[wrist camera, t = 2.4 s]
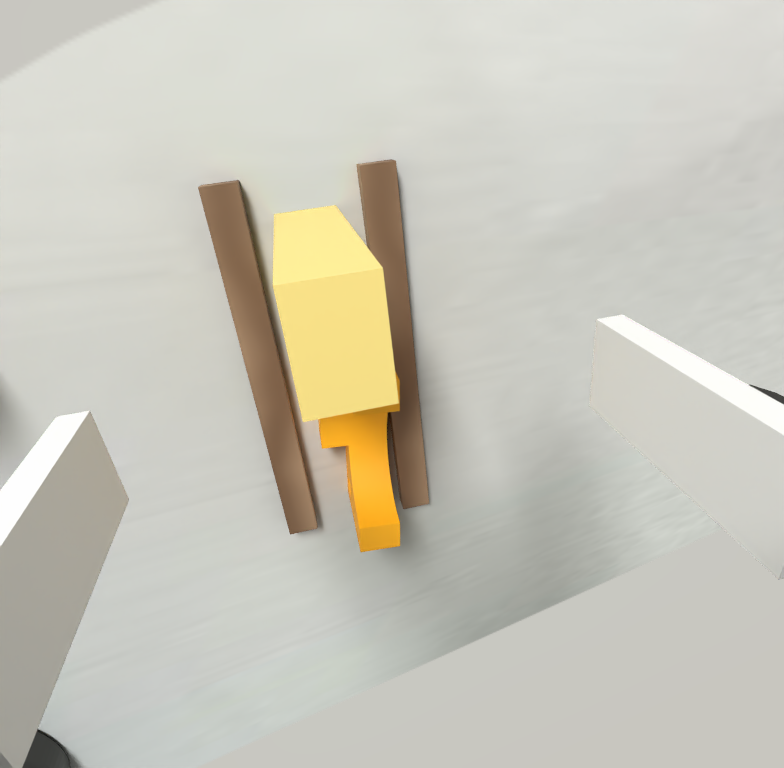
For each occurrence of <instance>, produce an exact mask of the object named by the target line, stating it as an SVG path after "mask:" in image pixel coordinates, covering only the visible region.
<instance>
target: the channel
mask: <svg viewBox="0 0 784 768" xmlns="http://www.w3.org/2000/svg"><path fill="white" fill-rule="evenodd" d="M357 172H358V179H359V187H360V195H361V202H362V210H363V218H364V226H365V233H366V241H367V248H368V249H369V250H370V252H371V253H372V254H373V256H374V257H375V258H376V259H377V261H378V262H379V263H380V265H381V266H382V267H383V273H384V282H385V290H386V298H387V307H388V315H389V324H390V332H391V341H392V349H393V358H394V366H395V372H396V374H397V376H398V378H399V380H400V411H396V412H389V418H390V426H391V433H392V441H393V449H394V457H395V464H396V472H397V480H398V487H399V495H400V501H401V504H402V507H403V509H407V508H411V507H416V506H420V505H425V504H429V497H428V487H427V477H426V466H425V456H424V446H423V435H422V425H421V415H420V405H419V394H418V384H417V374H416V363H415V353H414V343H413V333H412V322H411V312H410V302H409V291H408V281H407V271H406V261H405V250H404V240H403V230H402V220H401V209H400V199H399V189H398V178H397V168H396V161H395V160H385V161H377V162H370V163H362V164H357ZM198 189H199V193H200V196H201V200H202V204H203V208H204V212H205V215H206V219H207V223H208V227H209V230H210V234H211V238H212V242H213V245H214V249H215V253H216V257H217V260H218V264H219V268H220V272H221V276H222V279H223V283H224V287H225V291H226V294H227V298H228V302H229V306H230V309H231V313H232V317H233V321H234V324H235V328H236V332H237V336H238V340H239V343H240V347H241V351H242V355H243V358H244V362H245V366H246V370H247V373H248V377H249V381H250V385H251V389H252V392H253V396H254V400H255V404H256V407H257V411H258V415H259V419H260V422H261V426H262V430H263V434H264V437H265V441H266V445H267V449H268V453H269V456H270V460H271V464H272V468H273V471H274V475H275V479H276V483H277V486H278V490H279V494H280V498H281V501H282V505H283V509H284V513H285V517H286V520H287V524H288V528H289V532H290V534H294V533H299V532H303V531H308V530H312V529H317V519H316V514H315V510H314V505H313V501H312V497H311V492H310V488H309V484H308V479H307V475H306V471H305V466H304V462H303V457H302V453H301V449H300V444H299V440H298V436H297V431H296V427H295V423H294V418H293V414H292V410H291V405H290V401H289V397H288V392H287V388H286V384H285V379H284V375H283V371H282V366H281V362H280V358H279V353H278V349H277V344H276V340H275V336H274V331H273V327H272V323H271V318H270V314H269V310H268V305H267V301H266V297H265V292H264V288H263V284H262V279H261V275H260V271H259V266H258V262H257V258H256V253H255V249H254V244H253V240H252V236H251V231H250V227H249V223H248V218H247V214H246V210H245V205H244V201H243V197H242V192H241V188H240V184H239V180H236V181H229V182H221V183H214V184H206V185H201V186H199V187H198Z"/></svg>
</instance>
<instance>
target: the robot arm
mask: <svg viewBox="0 0 784 768" xmlns="http://www.w3.org/2000/svg"><path fill="white" fill-rule="evenodd" d="M589 407H590V408H591V409H592V410H593V411H595V412H596V413H597V414H598V415H599V416H600V417H601V418H602V419H603V420H604V421H606V422H607V423H608V424H609V425H610V426H611V427H612V428H613V429H614V430H615V431H616V432H618V433H619V434H620V435H621V436H622V437H623V438H624V439H625V440H626V441H627V442H628V443H630V444H631V445H632V446H633V447H634V448H635V449H636V450H637V451H638V452H639V453H641V454H642V455H643V456H644V457H645V458H646V459H647V460H648V461H649V462H650V463H651V464H653V465H654V466H655V467H656V468H657V469H658V470H659V471H660V472H661V473H662V474H663V475H665V476H666V477H667V478H668V479H669V480H670V481H671V482H672V483H673V484H674V485H676V486H677V487H678V488H679V489H680V490H681V491H682V492H683V493H684V494H685V495H686V496H688V497H689V498H690V499H691V500H692V501H693V502H694V503H695V504H696V505H697V506H698V507H700V508H701V509H702V510H703V511H704V512H705V513H706V514H707V515H708V516H709V517H711V518H712V519H713V520H714V521H715V522H716V523H717V524H718V525H719V526H720V527H721V528H723V529H724V530H725V531H726V532H727V533H728V534H729V535H730V536H731V537H732V538H733V539H735V540H736V541H737V542H738V543H739V544H740V545H741V546H742V547H743V548H745V549H746V550H747V551H748V552H749V553H750V554H751V555H752V556H753V557H754V558H755V559H757V560H758V561H759V562H760V563H761V564H762V565H763V566H764V567H765V568H766V569H767V570H768V571H770V572H771V573H772V574H773V575H774V576H775V577H776V578H777V579H778V580H780V579H783V578H784V397H783V396H781V395H779V394H777V393H775V392H771V391H768V390H765V389H762V388H759V387H756V386H753V385H748V384H746V383H744V382H742V381H741V380H739V379H737V378H735V377H733V376H732V375H730V374H728V373H726V372H724V371H723V370H721V369H719V368H717V367H715V366H714V365H712V364H710V363H708V362H706V361H705V360H703V359H701V358H699V357H697V356H696V355H694V354H692V353H690V352H689V351H687V350H685V349H683V348H681V347H680V346H678V345H676V344H674V343H672V342H671V341H669V340H667V339H665V338H663V337H662V336H660V335H658V334H656V333H654V332H653V331H651V330H649V329H647V328H646V327H644V326H642V325H640V324H638V323H637V322H635V321H633V320H631V319H629V318H628V317H626V316H624V315H618V316H612V317H607V318H601V319H596V330H595V343H594V355H593V367H592V380H591V392H590V404H589ZM128 501H129V498H128V496H127V494H126V491H125V489H124V487H123V485H122V482H121V480H120V478H119V476H118V473H117V471H116V469H115V467H114V464H113V462H112V460H111V457H110V455H109V453H108V451H107V448H106V446H105V444H104V442H103V439H102V437H101V435H100V432H99V430H98V428H97V426H96V423H95V421H94V419H93V417H92V414H91V412H90V411H85V412H80V413H74V414H69V415H63V416H57V417H56V418H55V419H54V420H53V422H52V423H51V424H50V426H49V427H48V428H47V430H46V431H45V432H44V434H43V435H42V436H41V438H40V439H39V440H38V442H37V443H36V444H35V445H34V447H33V448H32V449H31V451H30V452H29V453H28V455H27V456H26V457H25V459H24V460H23V461H22V463H21V464H20V465H19V467H18V468H17V469H16V471H15V472H14V473H13V474H12V476H11V477H10V478H9V480H8V481H7V482H6V484H5V485H4V486H3V488H2V489H1V490H0V768H70V763H69V760H68V758H67V756H66V754H65V752H64V751H63V750H62V749H61V747H60V746H59V745H58V744H56V743H55V742H54V741H53V740H51V739H50V738H48V737H47V736H45V735H43V734H41V733H39V732H37V729H38V727H39V724H40V722H41V719H42V717H43V714H44V712H45V709H46V707H47V704H48V702H49V699H50V697H51V694H52V692H53V689H54V687H55V684H56V682H57V679H58V677H59V674H60V672H61V669H62V667H63V664H64V662H65V659H66V657H67V654H68V652H69V649H70V647H71V644H72V641H73V639H74V636H75V634H76V631H77V629H78V626H79V624H80V621H81V619H82V616H83V614H84V611H85V609H86V606H87V604H88V601H89V599H90V596H91V594H92V591H93V589H94V586H95V584H96V581H97V579H98V576H99V574H100V571H101V569H102V566H103V564H104V561H105V559H106V556H107V554H108V551H109V549H110V546H111V544H112V541H113V539H114V536H115V534H116V531H117V529H118V526H119V524H120V521H121V519H122V516H123V514H124V511H125V508H126V506H127V503H128Z"/></svg>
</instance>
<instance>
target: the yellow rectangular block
mask: <svg viewBox="0 0 784 768" xmlns="http://www.w3.org/2000/svg"><path fill="white" fill-rule="evenodd" d="M273 289H274V293H275V298H276V302H277V307H278V312H279V316H280V321H281V325H282V330H283V334H284V339H285V343H286V348H287V352H288V357H289V361H290V366H291V370H292V375H293V379H294V384H295V388H296V393H297V398H298V402H299V407H300V411H301V416H302V420H303V422H306V421H311V420H316V419H321V418H327V417H332V416H337V415H342V414H347V413H352V412H357V411H362V410H367V409H373V408H378V407H383V406H388V405H393V404H398V403H399V400H398V391H397V383H396V375H395V366H394V358H393V349H392V341H391V332H390V324H389V315H388V307H387V298H386V290H385V282H384V273H383V267H382V266H381V265H380V263H379V262H378V261H377V259H376V258H375V257H374V256H373V254H372V253H371V252H370V250H369V249H368V248H367V246H366V245H365V244H364V242H363V241H362V240H361V238H360V237H359V236H358V234H357V233H356V232H355V230H354V229H353V228H352V226H351V225H350V224H349V222H348V221H347V220H346V218H345V217H344V216H343V214H342V213H341V212H340V210H339V209H338V208H337V206H336V205H334V206H327V207H320V208H313V209H306V210H300V211H293V212H286V213H279V214H274V252H273Z"/></svg>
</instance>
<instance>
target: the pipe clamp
mask: <svg viewBox="0 0 784 768" xmlns="http://www.w3.org/2000/svg"><path fill="white" fill-rule="evenodd" d="M395 375H396V383H397V391H398V400H399V403H398V404H393V405H388V406H383V407H378V408H373V409H367V410H362V411H357V412H352V413H347V414H342V415H337V416H332V417H327V418H321V419H318V421H319V432H320V438H321V445H322V449H323V448H331V447H340V446H346V462H347V479H348V493H349V498H350V503H351V507H352V512H353V517H354V522H355V527H356V532H357V537H358V542H359V546H360V551H361V552H365V551H371V550H378V549H384V548H390V547H397V546H400V521H399V518H398V514H397V510H396V506H395V501H394V496H393V491H392V485H391V478H390V471H389V462H388V450H387V416H388V412H396V411H400V380H399V378H398V376H397V374H396V372H395Z"/></svg>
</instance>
